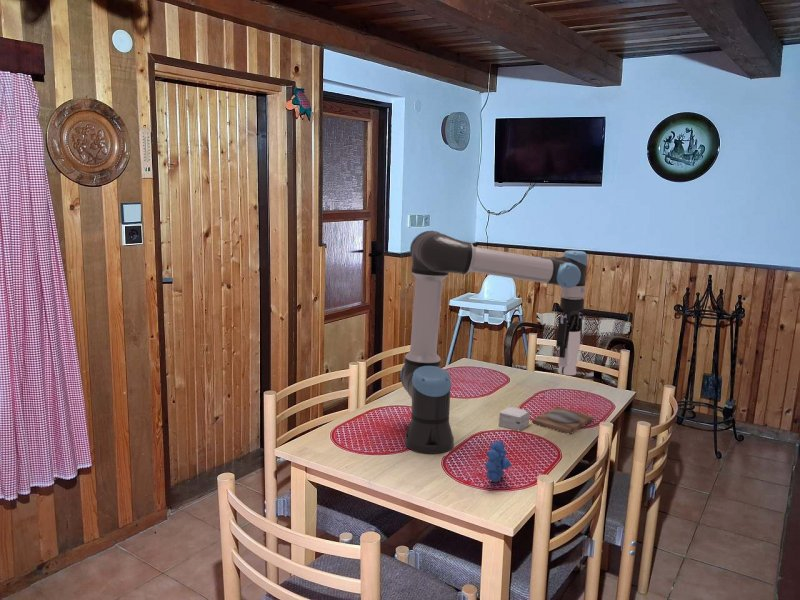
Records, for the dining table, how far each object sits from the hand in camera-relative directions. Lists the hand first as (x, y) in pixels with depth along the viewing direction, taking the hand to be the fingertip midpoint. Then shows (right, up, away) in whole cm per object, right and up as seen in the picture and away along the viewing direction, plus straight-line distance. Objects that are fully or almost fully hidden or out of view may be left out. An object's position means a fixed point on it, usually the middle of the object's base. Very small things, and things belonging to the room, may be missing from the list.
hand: (567, 364), depth 224 cm
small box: (-18, -21, -1) cm, 28 cm away
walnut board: (-1, -20, +4) cm, 21 cm away
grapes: (-30, -28, -44) cm, 60 cm away
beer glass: (0, -3, +1) cm, 3 cm away
